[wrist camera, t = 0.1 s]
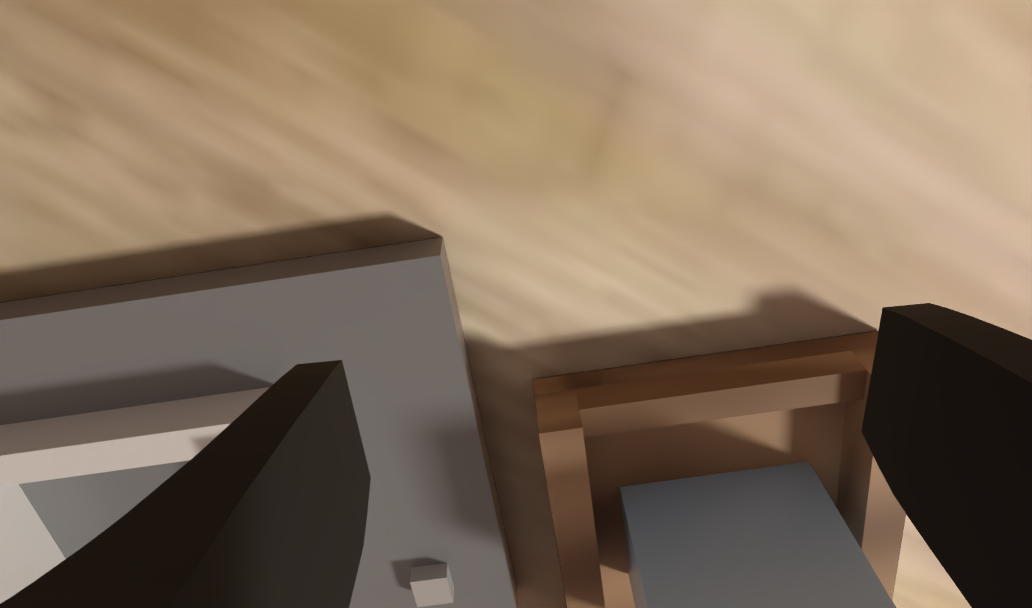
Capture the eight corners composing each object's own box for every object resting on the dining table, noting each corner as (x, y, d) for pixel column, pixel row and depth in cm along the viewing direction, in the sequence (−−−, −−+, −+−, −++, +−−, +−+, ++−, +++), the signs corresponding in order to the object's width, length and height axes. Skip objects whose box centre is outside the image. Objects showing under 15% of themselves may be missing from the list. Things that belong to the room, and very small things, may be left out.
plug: (802, 551, 24) (906, 757, 18) (627, 574, 25) (673, 784, 19) (808, 461, 22) (926, 658, 16) (619, 487, 23) (666, 690, 17)
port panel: (516, 589, 26) (521, 685, 23) (-13, 658, 27) (-83, 760, 23) (442, 237, 19) (433, 300, 16) (-260, 341, 20) (-406, 422, 17)
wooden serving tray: (848, 602, 27) (882, 665, 25) (574, 636, 27) (582, 702, 25) (879, 330, 21) (927, 380, 19) (532, 379, 22) (538, 433, 19)
